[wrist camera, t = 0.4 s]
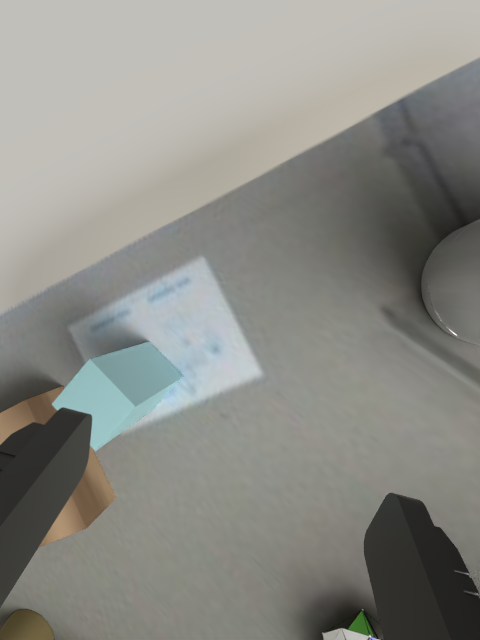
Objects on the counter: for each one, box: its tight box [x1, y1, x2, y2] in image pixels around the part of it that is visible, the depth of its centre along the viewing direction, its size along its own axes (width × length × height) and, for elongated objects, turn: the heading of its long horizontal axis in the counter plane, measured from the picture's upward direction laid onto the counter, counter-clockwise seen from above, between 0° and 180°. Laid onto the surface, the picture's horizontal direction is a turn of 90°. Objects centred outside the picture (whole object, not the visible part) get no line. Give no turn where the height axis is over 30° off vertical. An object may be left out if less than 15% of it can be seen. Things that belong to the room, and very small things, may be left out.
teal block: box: [52, 341, 184, 451], centre depth 29 cm, size 4×4×9 cm
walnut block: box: [0, 386, 116, 547], centre depth 34 cm, size 12×12×5 cm
